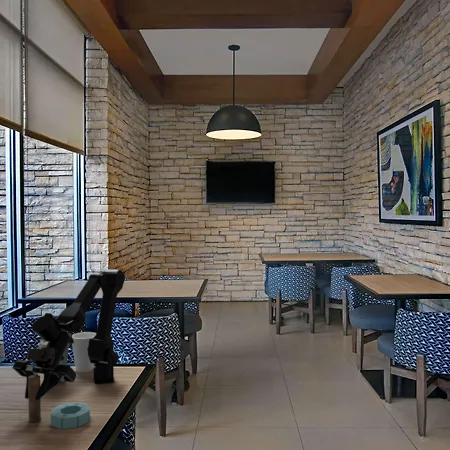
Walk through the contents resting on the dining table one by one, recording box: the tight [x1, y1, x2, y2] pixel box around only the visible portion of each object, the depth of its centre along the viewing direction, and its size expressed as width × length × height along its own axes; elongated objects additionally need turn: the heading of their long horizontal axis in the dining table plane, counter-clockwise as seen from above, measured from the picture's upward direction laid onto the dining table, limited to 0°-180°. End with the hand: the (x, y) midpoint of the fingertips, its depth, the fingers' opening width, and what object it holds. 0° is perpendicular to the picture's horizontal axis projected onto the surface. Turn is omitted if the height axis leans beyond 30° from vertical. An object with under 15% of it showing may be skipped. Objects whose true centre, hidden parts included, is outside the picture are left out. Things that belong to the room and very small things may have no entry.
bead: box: [50, 401, 91, 430], centre depth 135 cm, size 10×10×3 cm
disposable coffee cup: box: [37, 339, 70, 383], centre depth 166 cm, size 11×11×15 cm
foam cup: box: [71, 331, 97, 373], centre depth 178 cm, size 10×9×13 cm
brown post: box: [27, 374, 42, 423], centre depth 135 cm, size 3×3×12 cm
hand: (31, 399), depth 134 cm, fingers closed on brown post, 3 cm apart
